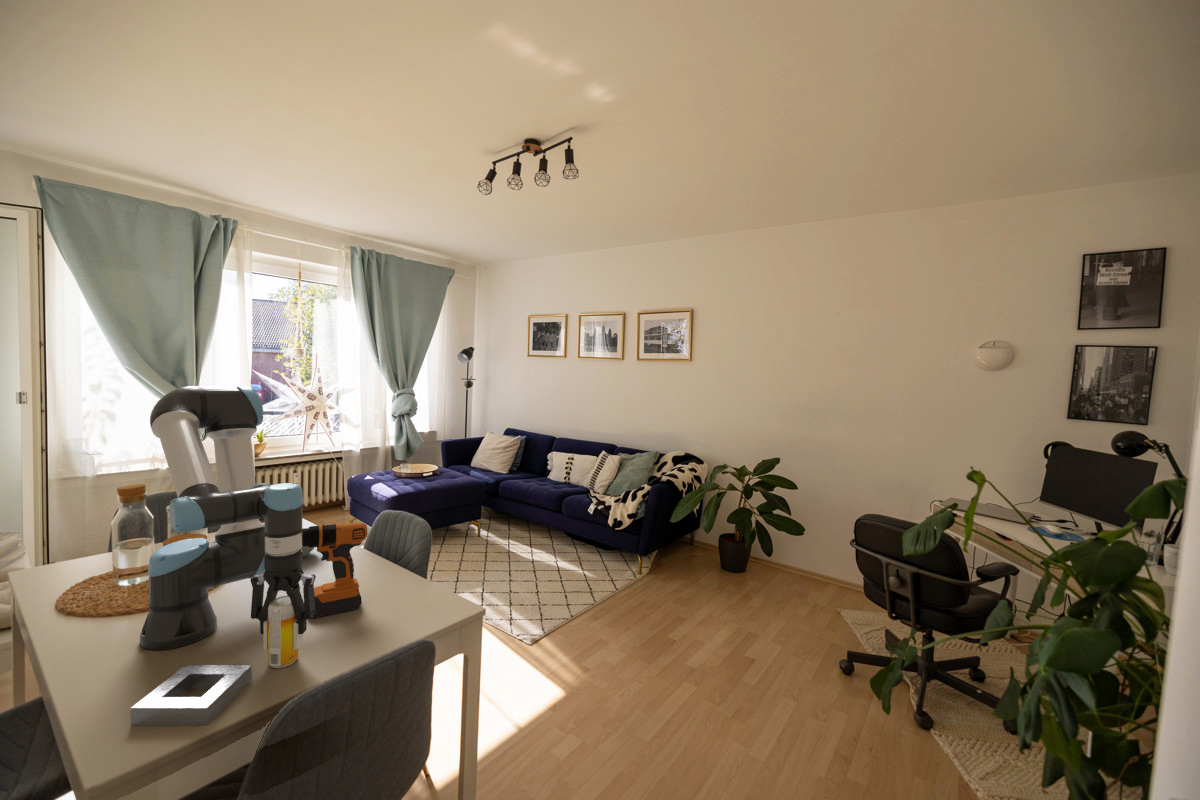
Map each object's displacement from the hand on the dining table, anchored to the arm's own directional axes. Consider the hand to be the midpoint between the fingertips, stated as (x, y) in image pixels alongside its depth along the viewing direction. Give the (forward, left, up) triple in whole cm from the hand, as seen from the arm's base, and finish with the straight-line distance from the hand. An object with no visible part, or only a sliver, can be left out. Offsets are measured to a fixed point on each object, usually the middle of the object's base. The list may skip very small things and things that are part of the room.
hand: (283, 646), depth 119 cm
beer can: (0, 0, -4) cm, 4 cm away
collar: (-10, -14, -4) cm, 18 cm away
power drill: (-2, +25, -4) cm, 25 cm away
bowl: (-32, +63, -4) cm, 71 cm away
